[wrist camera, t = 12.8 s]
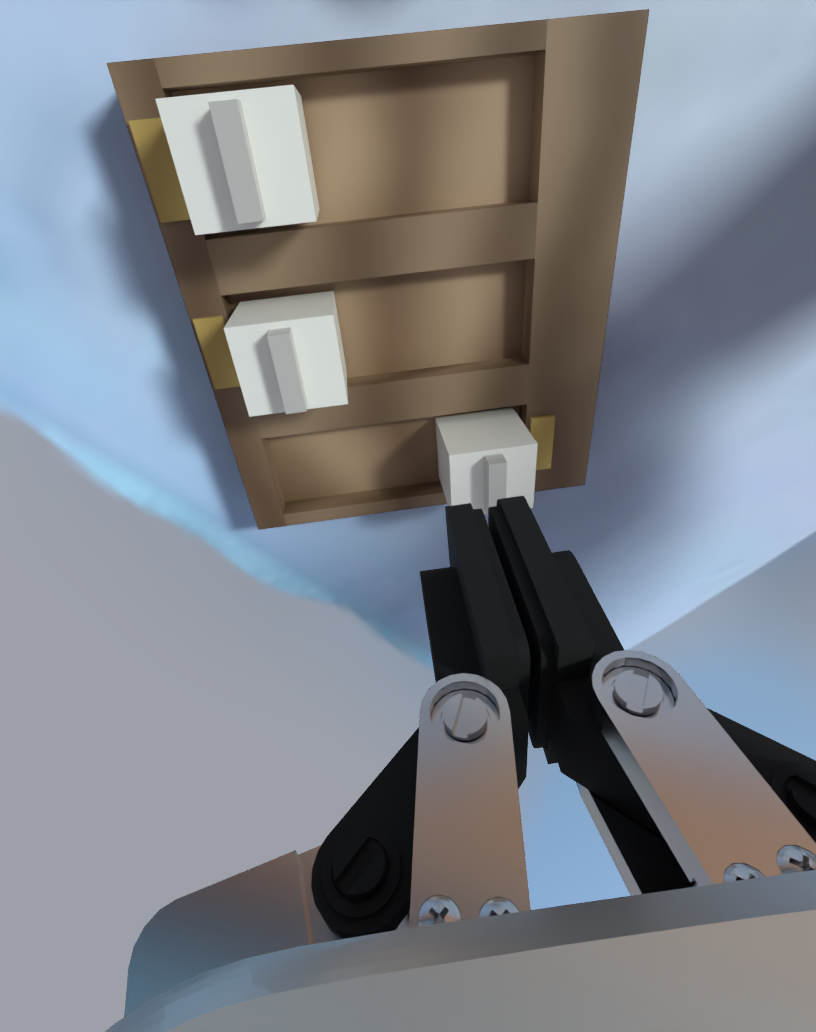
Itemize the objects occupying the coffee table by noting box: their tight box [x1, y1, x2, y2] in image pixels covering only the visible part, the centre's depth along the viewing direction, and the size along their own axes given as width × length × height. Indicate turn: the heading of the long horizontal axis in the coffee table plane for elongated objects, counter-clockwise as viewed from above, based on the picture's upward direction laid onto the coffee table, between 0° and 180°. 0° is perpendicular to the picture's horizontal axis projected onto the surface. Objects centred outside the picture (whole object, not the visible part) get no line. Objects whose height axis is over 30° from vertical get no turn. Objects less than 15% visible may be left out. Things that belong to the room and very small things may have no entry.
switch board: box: [107, 9, 649, 530], centre depth 23 cm, size 18×19×3 cm
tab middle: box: [224, 291, 348, 417], centre depth 21 cm, size 4×4×5 cm
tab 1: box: [155, 85, 320, 235], centre depth 17 cm, size 4×4×5 cm
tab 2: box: [435, 407, 538, 517], centre depth 25 cm, size 4×4×5 cm
